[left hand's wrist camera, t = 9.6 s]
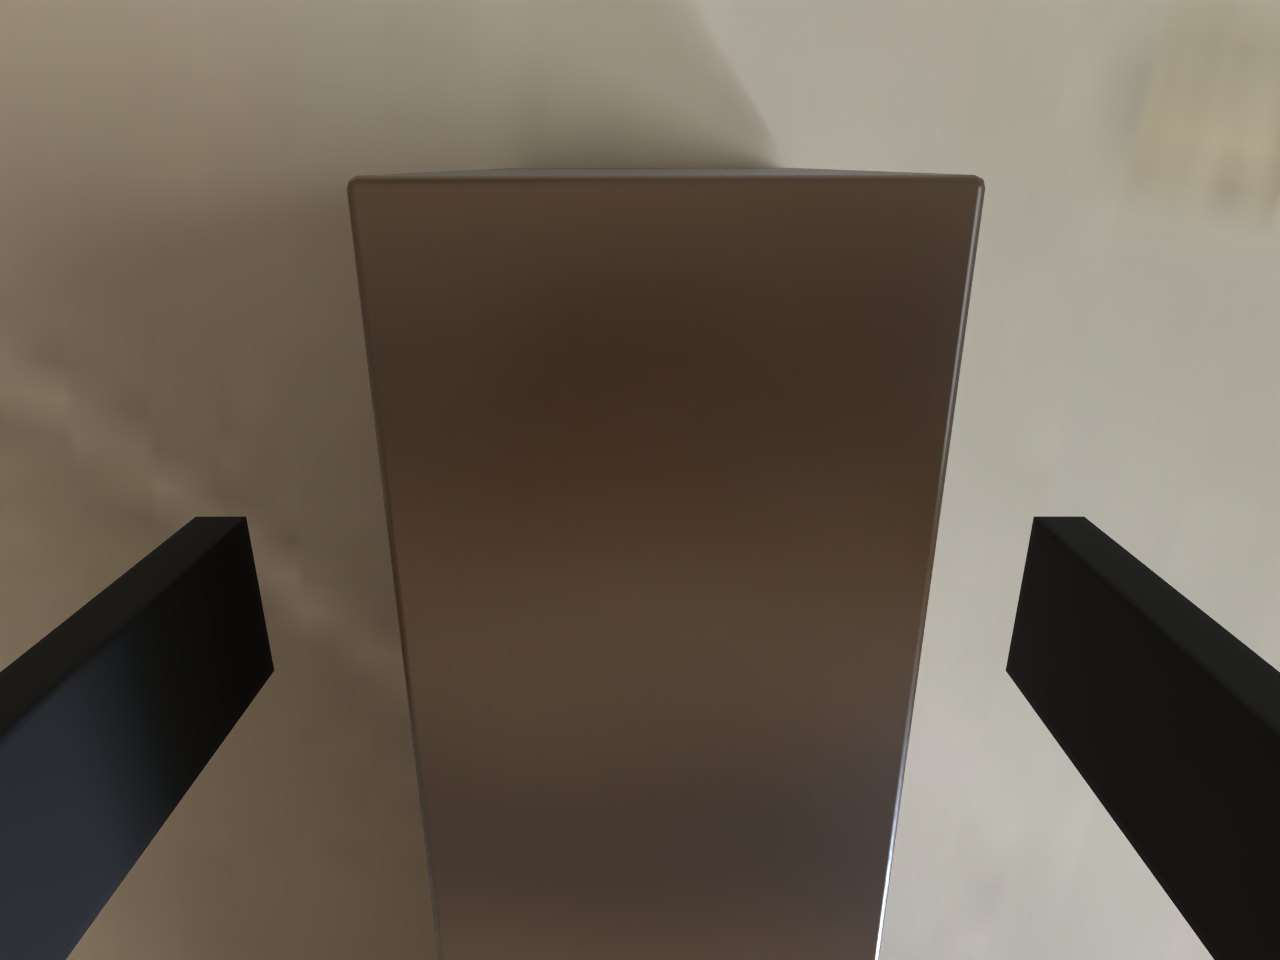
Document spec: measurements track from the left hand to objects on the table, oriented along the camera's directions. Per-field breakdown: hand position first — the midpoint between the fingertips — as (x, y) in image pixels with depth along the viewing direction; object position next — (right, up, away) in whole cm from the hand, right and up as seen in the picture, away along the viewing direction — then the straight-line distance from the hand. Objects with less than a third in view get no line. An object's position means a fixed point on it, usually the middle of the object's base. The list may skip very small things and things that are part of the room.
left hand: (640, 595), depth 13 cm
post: (0, -26, +14) cm, 29 cm away
